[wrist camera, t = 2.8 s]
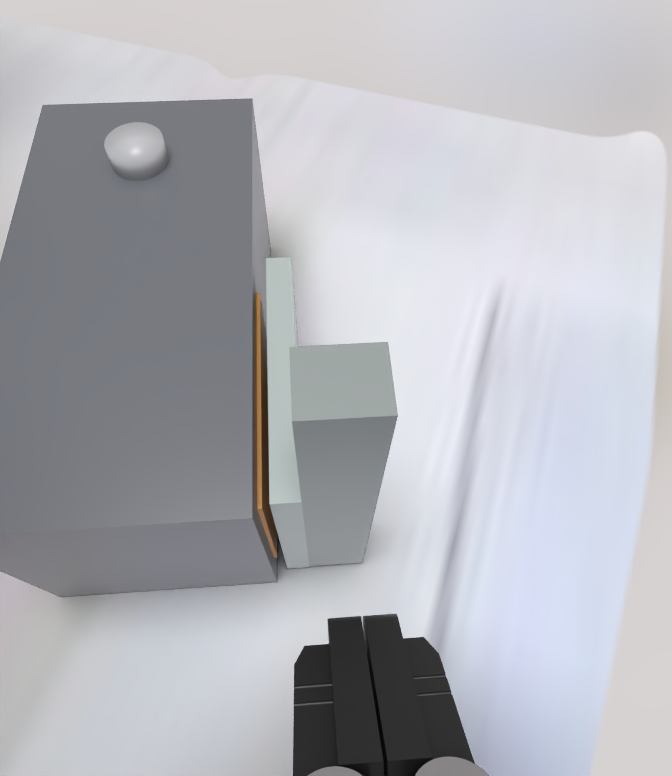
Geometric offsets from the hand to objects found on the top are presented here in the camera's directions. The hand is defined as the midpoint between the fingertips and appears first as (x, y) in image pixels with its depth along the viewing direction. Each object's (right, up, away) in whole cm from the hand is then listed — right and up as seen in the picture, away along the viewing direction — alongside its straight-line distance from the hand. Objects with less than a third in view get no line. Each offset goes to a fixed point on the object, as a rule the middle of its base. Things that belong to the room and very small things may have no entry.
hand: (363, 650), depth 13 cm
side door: (-1, +2, +16) cm, 17 cm away
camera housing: (-9, +5, +18) cm, 21 cm away
